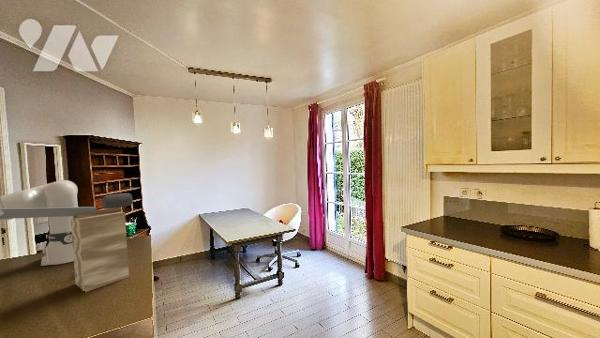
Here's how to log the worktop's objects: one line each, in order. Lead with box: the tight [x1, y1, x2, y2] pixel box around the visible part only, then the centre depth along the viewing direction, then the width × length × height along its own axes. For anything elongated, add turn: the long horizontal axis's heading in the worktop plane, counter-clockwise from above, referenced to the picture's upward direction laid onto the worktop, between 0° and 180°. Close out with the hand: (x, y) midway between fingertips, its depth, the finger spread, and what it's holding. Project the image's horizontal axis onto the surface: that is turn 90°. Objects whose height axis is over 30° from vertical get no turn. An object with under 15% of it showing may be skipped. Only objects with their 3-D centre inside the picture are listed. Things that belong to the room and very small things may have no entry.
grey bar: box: [0, 206, 97, 220], centre depth 91 cm, size 3×26×3 cm, turn 143°
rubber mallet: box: [102, 192, 133, 209], centre depth 143 cm, size 12×8×30 cm, turn 142°
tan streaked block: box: [71, 208, 130, 293], centre depth 103 cm, size 12×14×27 cm
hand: (1, 210), depth 83 cm, fingers closed on grey bar, 3 cm apart
